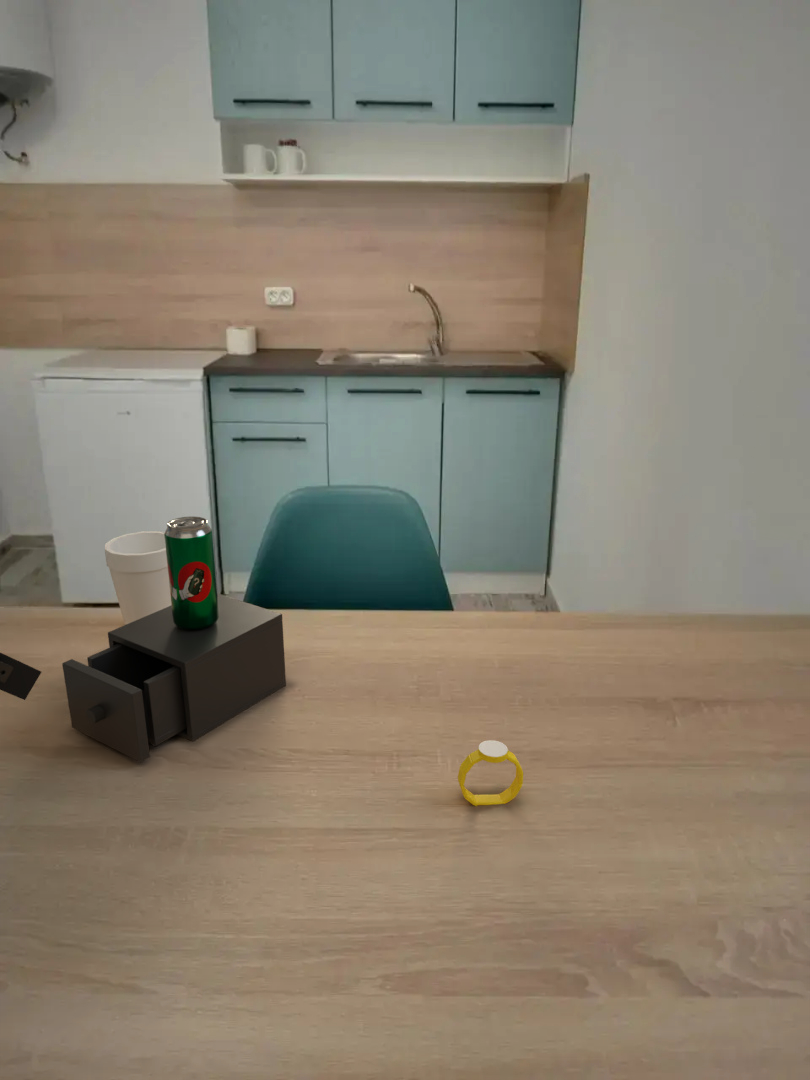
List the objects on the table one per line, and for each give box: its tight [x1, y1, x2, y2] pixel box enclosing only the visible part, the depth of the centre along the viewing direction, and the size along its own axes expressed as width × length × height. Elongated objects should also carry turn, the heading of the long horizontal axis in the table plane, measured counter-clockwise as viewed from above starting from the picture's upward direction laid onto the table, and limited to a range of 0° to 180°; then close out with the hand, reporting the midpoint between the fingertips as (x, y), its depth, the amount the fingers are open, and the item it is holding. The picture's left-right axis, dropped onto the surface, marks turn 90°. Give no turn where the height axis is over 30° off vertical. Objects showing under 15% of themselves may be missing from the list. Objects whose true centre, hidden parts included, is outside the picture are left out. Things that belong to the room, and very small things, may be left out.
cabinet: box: [107, 592, 287, 743], centre depth 95 cm, size 15×13×10 cm
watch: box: [457, 739, 524, 807], centre depth 78 cm, size 6×3×6 cm, turn 98°
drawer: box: [61, 643, 187, 763], centre depth 90 cm, size 15×11×8 cm
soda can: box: [164, 516, 219, 631], centre depth 92 cm, size 5×5×12 cm
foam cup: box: [104, 530, 171, 625], centre depth 111 cm, size 10×9×13 cm
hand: (0, 670), depth 75 cm, fingers open, 9 cm apart
